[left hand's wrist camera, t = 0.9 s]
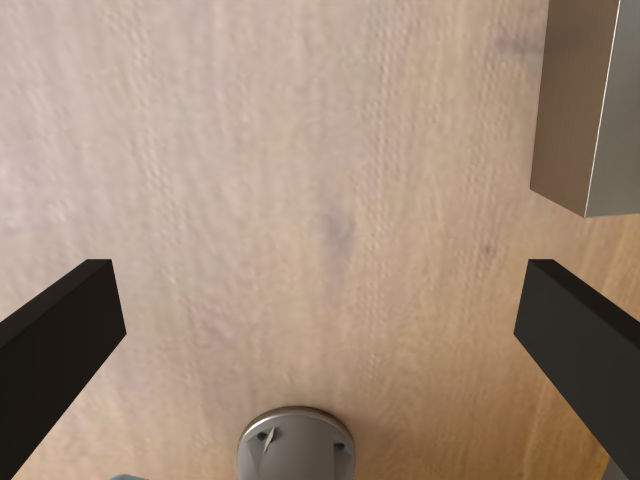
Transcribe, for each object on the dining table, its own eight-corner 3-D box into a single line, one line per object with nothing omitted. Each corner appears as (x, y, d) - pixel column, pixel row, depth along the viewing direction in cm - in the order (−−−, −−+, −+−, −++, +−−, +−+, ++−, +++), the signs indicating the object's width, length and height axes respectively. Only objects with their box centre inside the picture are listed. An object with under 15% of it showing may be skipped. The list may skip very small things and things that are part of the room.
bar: (591, 183, 38) (663, 212, 30) (529, 189, 39) (584, 218, 31) (644, -145, 29) (769, -233, 21) (563, -135, 29) (655, -217, 21)
